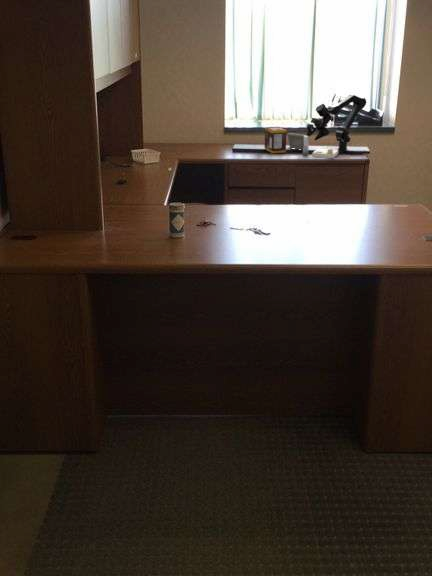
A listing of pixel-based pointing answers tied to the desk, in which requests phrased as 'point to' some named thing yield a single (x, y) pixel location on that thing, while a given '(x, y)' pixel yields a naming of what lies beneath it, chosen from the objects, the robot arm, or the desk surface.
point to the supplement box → (275, 139)
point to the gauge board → (325, 153)
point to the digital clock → (296, 140)
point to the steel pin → (305, 145)
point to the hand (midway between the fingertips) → (310, 139)
